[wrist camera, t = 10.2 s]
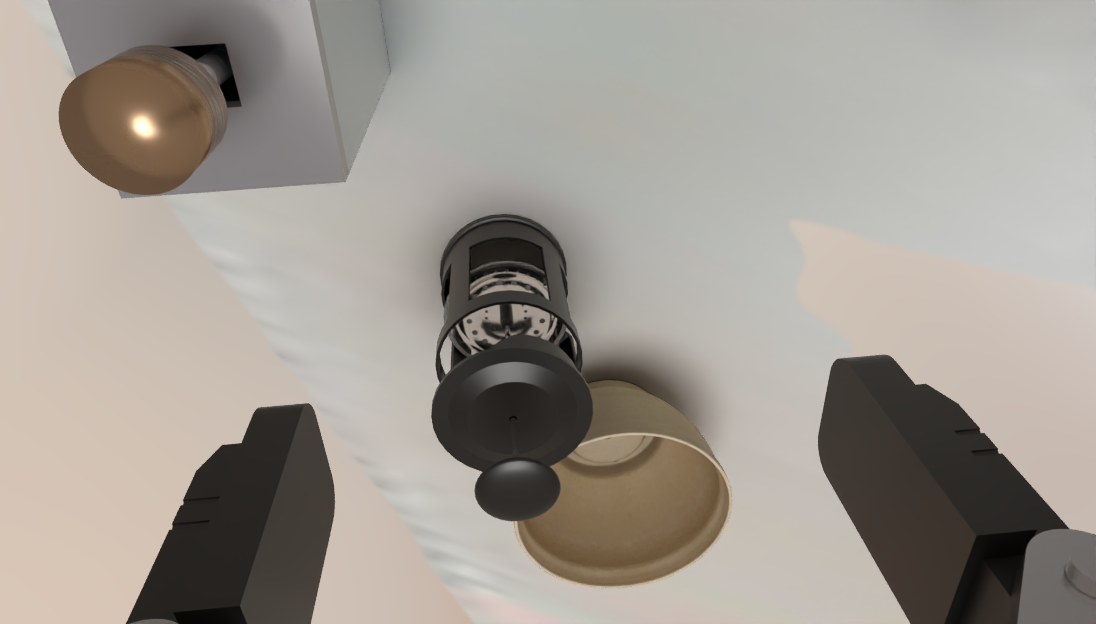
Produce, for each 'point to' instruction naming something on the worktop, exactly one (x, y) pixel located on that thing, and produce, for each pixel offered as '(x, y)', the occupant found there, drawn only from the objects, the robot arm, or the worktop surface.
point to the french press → (509, 369)
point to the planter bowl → (630, 496)
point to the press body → (257, 77)
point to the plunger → (147, 116)
